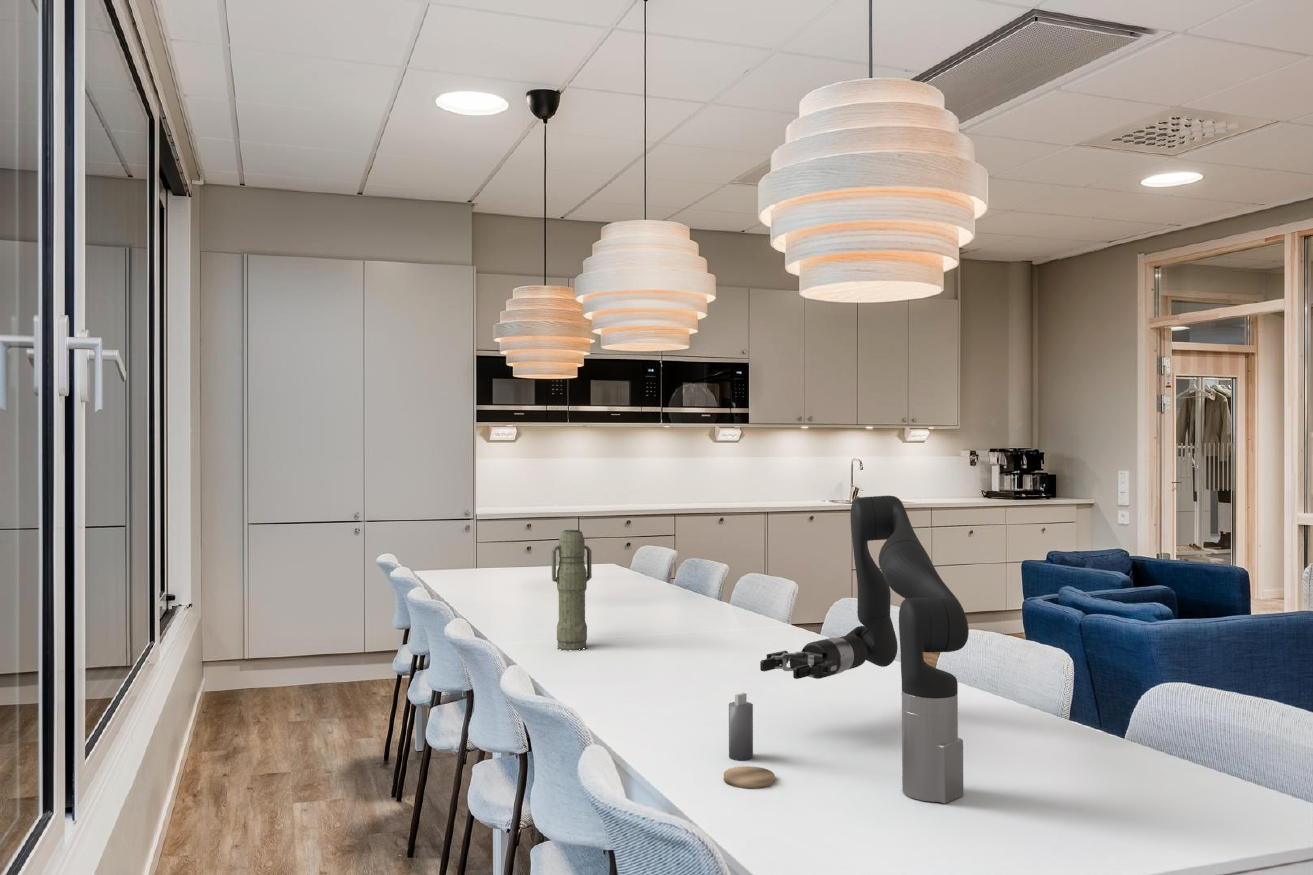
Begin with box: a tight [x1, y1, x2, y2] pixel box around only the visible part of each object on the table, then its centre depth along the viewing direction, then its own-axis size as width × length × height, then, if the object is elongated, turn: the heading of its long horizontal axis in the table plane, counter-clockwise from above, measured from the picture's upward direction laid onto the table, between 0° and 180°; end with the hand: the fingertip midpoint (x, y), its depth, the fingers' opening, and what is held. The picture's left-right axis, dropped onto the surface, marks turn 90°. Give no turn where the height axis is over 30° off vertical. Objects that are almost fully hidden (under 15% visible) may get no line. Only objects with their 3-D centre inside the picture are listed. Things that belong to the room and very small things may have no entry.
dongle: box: [728, 692, 754, 762], centre depth 191 cm, size 5×5×12 cm
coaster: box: [723, 765, 775, 789], centre depth 178 cm, size 9×9×1 cm
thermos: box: [551, 529, 593, 651], centre depth 298 cm, size 9×12×35 cm
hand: (777, 669), depth 199 cm, fingers open, 8 cm apart
